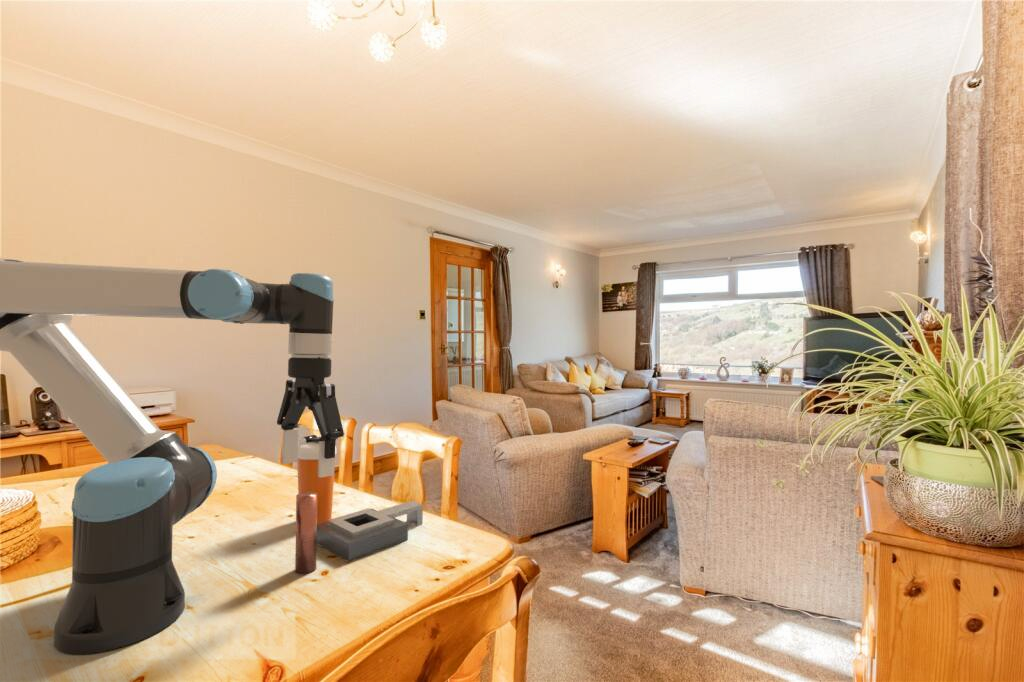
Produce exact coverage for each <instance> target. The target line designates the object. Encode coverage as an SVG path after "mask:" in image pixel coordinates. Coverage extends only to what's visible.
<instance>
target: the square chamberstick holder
mask: <svg viewBox="0 0 1024 682" xmlns="http://www.w3.org/2000/svg"><path fill="white" fill-rule="evenodd" d="M370 509H372V510H374V511H377V510H376V509H374V508H370ZM393 519H395V524H393V525H390V526H387V527H384V528H381V529H378V530H375V531H372V532H369V533H366V534H363V535H360V536H357V537H354V538H352V537H350V536H348V535H346V534H344V533H342V532H340V531H338V530H336V529H334V528H332V527H330V526H328V525H327V522H323V523H320V524H317V545H318V546H320V547H322V548H324V549H325V550H327V551H329V552H331V553H332V554H334V555H335V556H337V557H339V558H341V559H342V560H345V561H347V562H348V563H349V562H352V561H354V560H357V559H360V558H363V557H365V556H367V555H370V554H374V553H377V552H379V551H381V550H385V549H386V548H390V547H392V546H395V545H397V544H401V543H403V542H405V541H408V540H409V526H408V525H409V523H408V522H405V521H403V520H400V519H399V518H397V517H395V518H393ZM370 522H373V521H371V520H369V519H367V518H363V519H360V520H357V521H353V522H350V524H353V525H355V526H360V525H363V524H366V523H370Z"/></svg>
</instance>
